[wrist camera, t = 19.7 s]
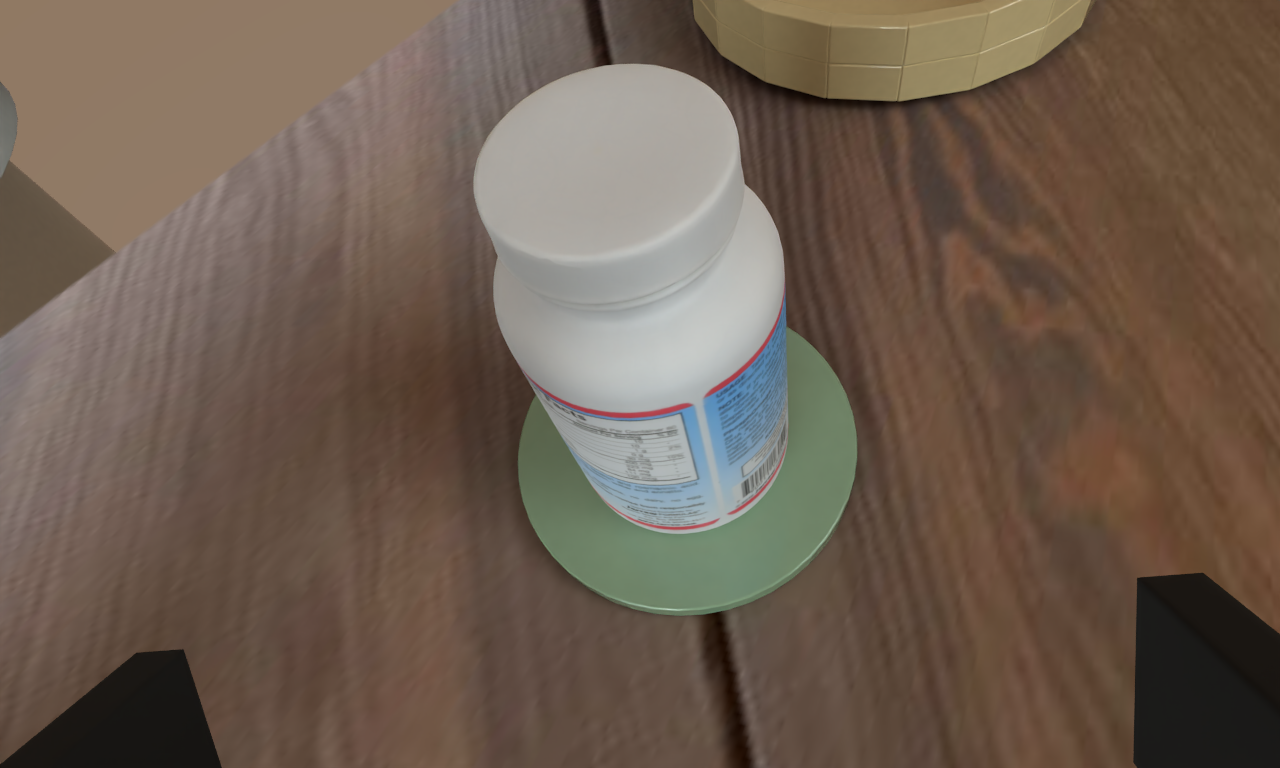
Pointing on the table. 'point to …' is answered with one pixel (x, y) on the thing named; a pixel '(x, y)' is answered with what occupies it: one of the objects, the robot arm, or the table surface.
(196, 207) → the table surface
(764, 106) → the table surface
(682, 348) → the pill bottle
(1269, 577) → the table surface
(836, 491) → the coaster
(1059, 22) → the beige shallow round dish
